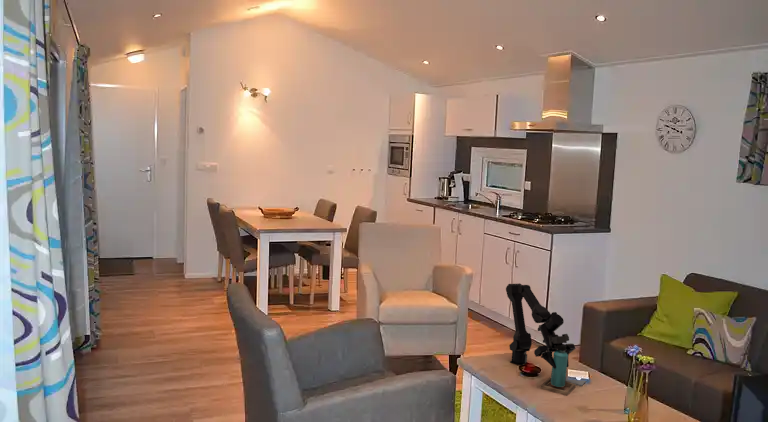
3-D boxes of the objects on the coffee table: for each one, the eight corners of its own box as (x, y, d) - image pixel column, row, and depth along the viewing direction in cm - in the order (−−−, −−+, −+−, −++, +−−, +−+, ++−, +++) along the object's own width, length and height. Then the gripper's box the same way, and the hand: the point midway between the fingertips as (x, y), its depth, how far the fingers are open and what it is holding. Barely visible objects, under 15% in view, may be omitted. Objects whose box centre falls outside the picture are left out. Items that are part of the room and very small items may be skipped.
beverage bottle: (566, 391, 288) (571, 347, 285) (551, 389, 288) (556, 346, 285) (562, 385, 294) (567, 342, 292) (548, 384, 294) (552, 341, 292)
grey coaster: (559, 380, 300) (559, 379, 300) (566, 374, 308) (566, 373, 308) (581, 386, 294) (581, 385, 294) (587, 380, 303) (588, 378, 303)
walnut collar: (540, 388, 289) (540, 385, 289) (549, 380, 299) (549, 377, 299) (566, 395, 283) (567, 392, 283) (575, 387, 293) (575, 384, 293)
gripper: (540, 328, 288) (552, 361, 279) (575, 326, 295) (588, 358, 286) (528, 340, 296) (540, 372, 288) (562, 337, 303) (575, 368, 294)
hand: (561, 367), depth 289 cm, fingers closed on beverage bottle, 6 cm apart
